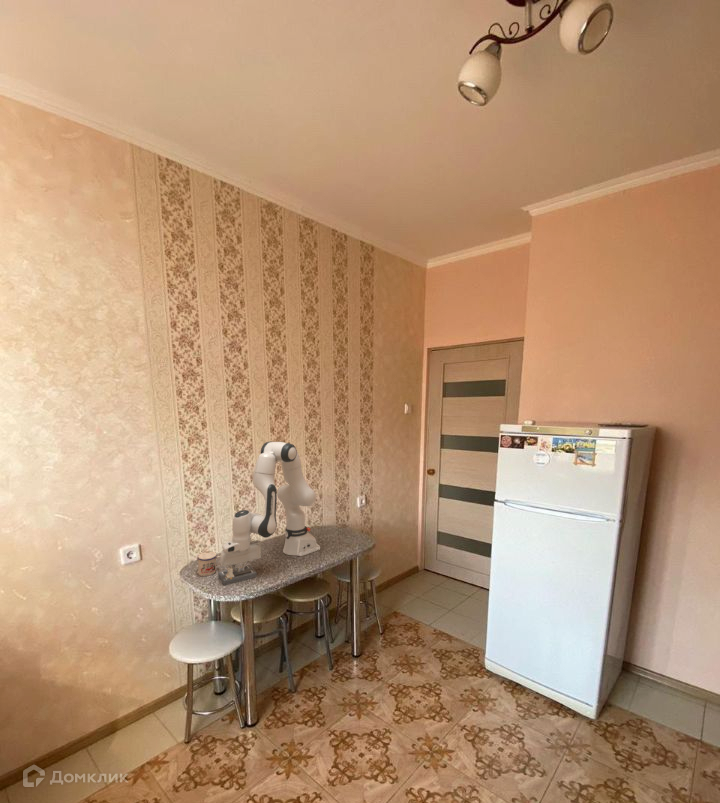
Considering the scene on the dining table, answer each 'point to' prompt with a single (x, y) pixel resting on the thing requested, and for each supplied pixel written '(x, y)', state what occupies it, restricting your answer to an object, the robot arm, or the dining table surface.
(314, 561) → the dining table surface
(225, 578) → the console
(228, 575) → the cap
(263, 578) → the dining table surface
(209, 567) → the teacup with lid
